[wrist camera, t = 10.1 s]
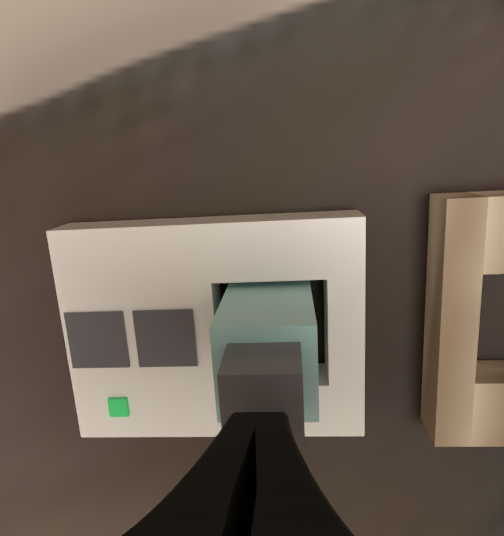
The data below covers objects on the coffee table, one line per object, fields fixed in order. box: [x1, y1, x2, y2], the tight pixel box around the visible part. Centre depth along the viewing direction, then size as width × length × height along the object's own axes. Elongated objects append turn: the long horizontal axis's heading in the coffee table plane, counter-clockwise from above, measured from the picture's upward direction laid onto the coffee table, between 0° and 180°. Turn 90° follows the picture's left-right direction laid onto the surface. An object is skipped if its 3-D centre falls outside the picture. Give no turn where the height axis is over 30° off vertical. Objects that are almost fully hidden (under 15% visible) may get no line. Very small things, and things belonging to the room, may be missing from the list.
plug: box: [209, 280, 319, 449], centre depth 16 cm, size 3×3×8 cm
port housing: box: [46, 210, 366, 437], centre depth 19 cm, size 12×9×2 cm
